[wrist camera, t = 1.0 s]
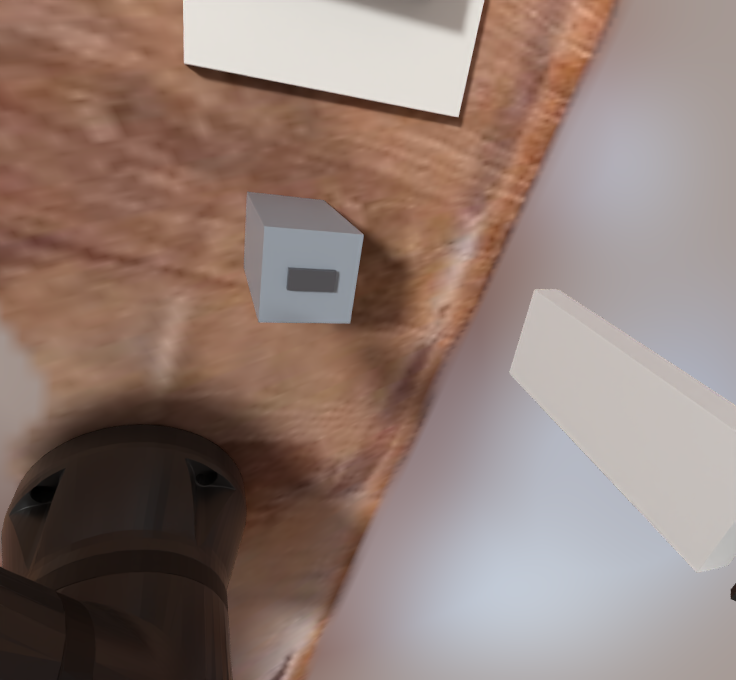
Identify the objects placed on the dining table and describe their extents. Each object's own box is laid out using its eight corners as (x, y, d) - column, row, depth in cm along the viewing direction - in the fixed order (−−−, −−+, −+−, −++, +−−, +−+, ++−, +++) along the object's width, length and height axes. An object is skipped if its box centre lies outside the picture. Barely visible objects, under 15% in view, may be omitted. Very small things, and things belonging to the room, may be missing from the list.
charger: (315, 271, 30) (351, 325, 23) (243, 267, 28) (259, 324, 21) (323, 200, 28) (366, 236, 21) (247, 191, 26) (265, 228, 19)
